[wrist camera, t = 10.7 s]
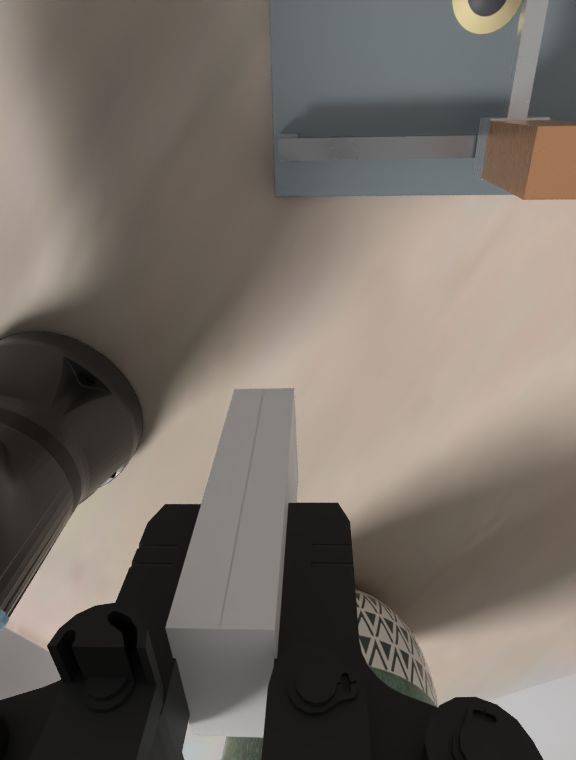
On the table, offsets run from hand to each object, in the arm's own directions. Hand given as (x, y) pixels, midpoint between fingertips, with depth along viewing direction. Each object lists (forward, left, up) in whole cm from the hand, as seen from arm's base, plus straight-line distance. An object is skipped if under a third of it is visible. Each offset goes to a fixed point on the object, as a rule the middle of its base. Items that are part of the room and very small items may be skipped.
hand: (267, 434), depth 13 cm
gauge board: (+13, +9, -26) cm, 30 cm away
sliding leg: (+11, +8, -24) cm, 28 cm away
